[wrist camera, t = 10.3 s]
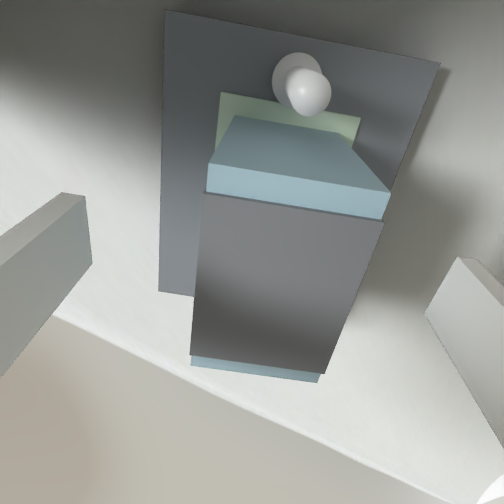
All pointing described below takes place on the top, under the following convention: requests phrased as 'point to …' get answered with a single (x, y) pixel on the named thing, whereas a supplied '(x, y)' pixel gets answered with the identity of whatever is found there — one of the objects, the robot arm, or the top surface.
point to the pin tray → (269, 111)
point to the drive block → (281, 248)
